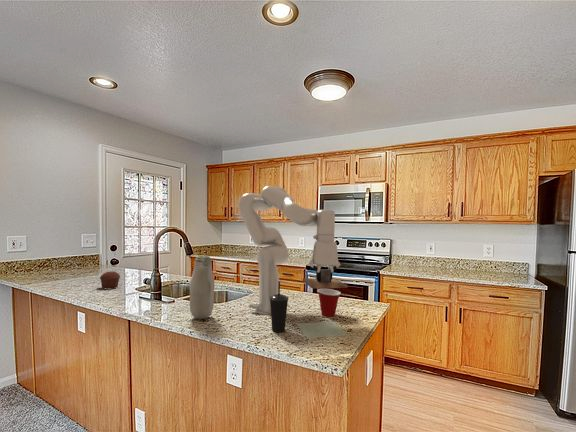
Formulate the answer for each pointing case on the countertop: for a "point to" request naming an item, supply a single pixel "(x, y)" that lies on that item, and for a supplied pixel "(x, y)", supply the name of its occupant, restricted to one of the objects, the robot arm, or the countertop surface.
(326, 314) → the plastic cup
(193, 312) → the gray bottle
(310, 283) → the lid
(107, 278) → the muffin
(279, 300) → the drinking cup
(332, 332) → the mat
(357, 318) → the countertop surface
